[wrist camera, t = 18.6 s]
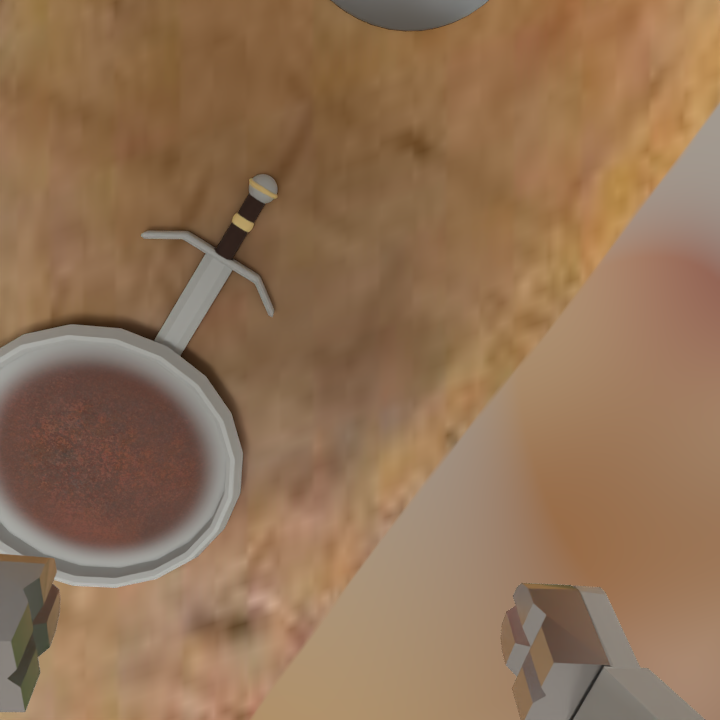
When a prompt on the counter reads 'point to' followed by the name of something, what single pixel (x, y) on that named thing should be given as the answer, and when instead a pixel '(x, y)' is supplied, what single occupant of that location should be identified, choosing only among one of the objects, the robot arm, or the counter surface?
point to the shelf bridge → (409, 12)
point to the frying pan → (122, 435)
